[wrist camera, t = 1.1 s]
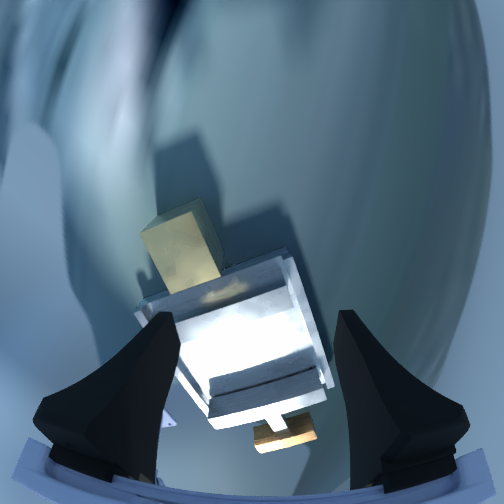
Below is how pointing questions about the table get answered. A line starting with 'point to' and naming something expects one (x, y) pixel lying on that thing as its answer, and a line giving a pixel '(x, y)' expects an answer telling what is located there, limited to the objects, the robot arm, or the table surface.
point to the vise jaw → (272, 410)
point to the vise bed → (242, 328)
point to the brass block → (184, 246)
